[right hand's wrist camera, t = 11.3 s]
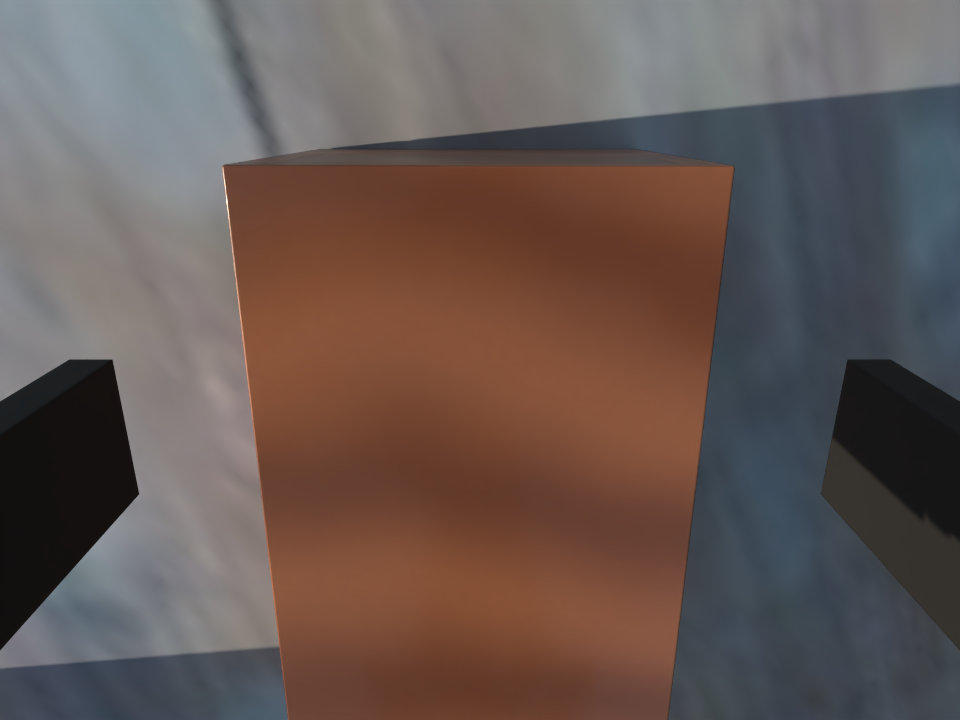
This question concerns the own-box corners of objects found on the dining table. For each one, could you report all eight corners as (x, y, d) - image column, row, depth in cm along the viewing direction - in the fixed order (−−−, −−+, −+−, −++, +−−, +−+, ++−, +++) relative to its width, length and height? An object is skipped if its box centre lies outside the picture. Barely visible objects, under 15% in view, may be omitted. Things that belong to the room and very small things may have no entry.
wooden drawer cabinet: (608, 564, 29) (664, 756, 20) (349, 563, 29) (291, 755, 20) (639, 149, 24) (735, 165, 15) (318, 148, 24) (221, 165, 15)
